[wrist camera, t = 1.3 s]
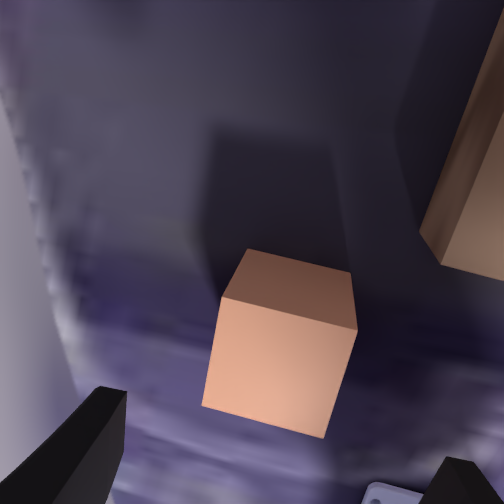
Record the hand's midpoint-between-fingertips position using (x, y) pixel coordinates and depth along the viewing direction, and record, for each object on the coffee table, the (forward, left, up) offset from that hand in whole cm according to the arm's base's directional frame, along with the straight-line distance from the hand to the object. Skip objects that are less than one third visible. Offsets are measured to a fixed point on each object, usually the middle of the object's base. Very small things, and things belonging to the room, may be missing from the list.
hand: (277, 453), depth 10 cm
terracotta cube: (-1, 0, -10) cm, 10 cm away
